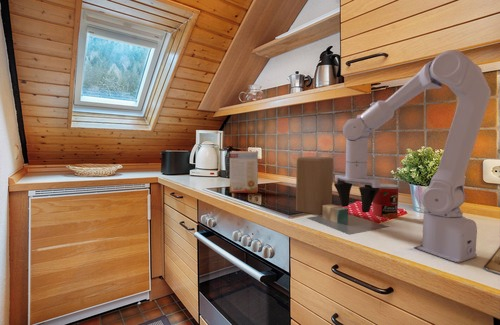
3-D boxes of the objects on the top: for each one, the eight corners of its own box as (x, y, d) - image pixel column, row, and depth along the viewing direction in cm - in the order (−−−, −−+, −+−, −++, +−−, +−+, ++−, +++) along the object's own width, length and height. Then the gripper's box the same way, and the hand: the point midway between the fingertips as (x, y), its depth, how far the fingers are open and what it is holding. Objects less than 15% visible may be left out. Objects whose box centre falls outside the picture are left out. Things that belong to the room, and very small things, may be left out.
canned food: (383, 220, 88) (385, 187, 87) (366, 214, 95) (367, 183, 94) (402, 219, 90) (404, 186, 89) (384, 213, 97) (385, 183, 97)
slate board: (389, 229, 79) (389, 226, 79) (349, 237, 72) (349, 234, 71) (342, 214, 95) (342, 212, 95) (306, 220, 88) (306, 217, 88)
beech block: (348, 208, 83) (332, 204, 89) (338, 210, 81) (322, 205, 88) (347, 221, 84) (331, 216, 90) (338, 223, 82) (322, 217, 88)
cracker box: (257, 191, 142) (258, 151, 140) (256, 193, 136) (257, 151, 134) (231, 190, 143) (231, 151, 142) (229, 192, 137) (229, 151, 136)
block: (307, 208, 105) (308, 156, 104) (332, 212, 99) (334, 157, 97) (294, 212, 97) (295, 157, 96) (320, 217, 91) (322, 158, 90)
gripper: (388, 163, 73) (386, 213, 74) (347, 160, 86) (346, 202, 87) (370, 164, 70) (368, 216, 71) (330, 161, 83) (329, 205, 84)
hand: (354, 209), depth 78 cm, fingers open, 7 cm apart
